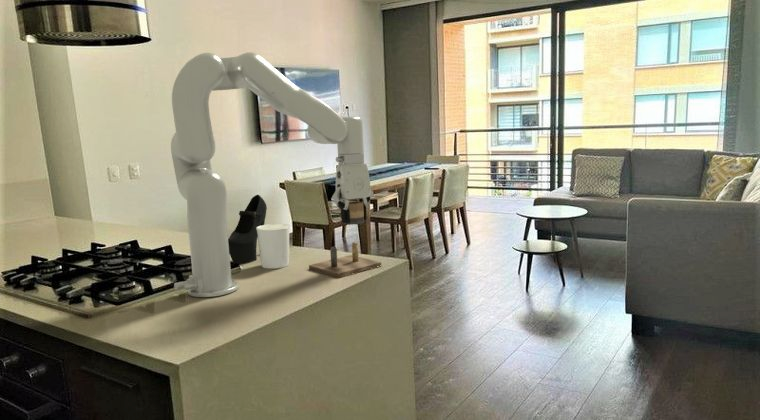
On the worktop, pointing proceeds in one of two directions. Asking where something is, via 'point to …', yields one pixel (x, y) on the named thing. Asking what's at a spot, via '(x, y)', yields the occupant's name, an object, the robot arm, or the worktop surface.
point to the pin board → (344, 263)
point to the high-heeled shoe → (247, 231)
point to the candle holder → (273, 245)
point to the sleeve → (356, 212)
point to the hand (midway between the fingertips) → (354, 220)
